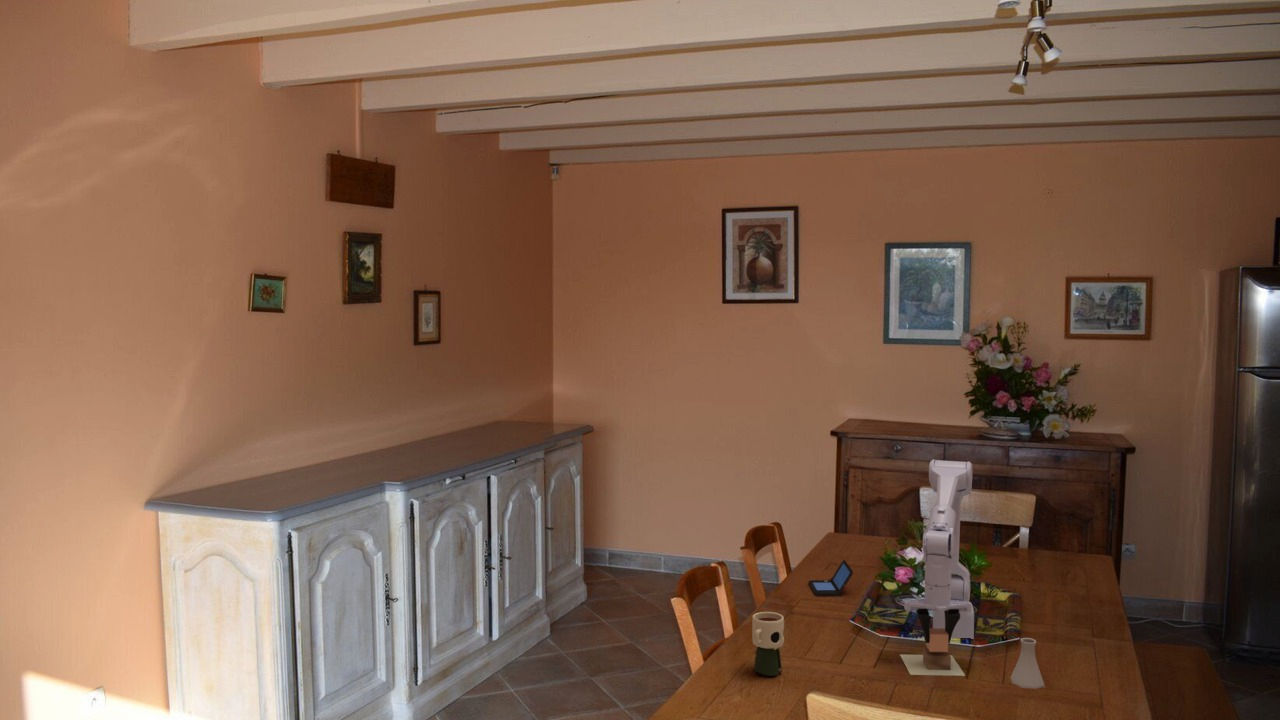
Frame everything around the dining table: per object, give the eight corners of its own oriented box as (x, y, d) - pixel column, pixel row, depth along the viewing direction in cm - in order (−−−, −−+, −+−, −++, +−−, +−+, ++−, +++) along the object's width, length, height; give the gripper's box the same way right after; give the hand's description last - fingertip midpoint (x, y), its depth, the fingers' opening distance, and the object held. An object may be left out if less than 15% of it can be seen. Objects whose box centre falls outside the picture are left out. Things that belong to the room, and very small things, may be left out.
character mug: (769, 684, 215) (769, 626, 214) (741, 676, 220) (741, 620, 219) (793, 669, 224) (793, 613, 223) (766, 661, 228) (766, 607, 227)
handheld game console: (807, 584, 288) (807, 559, 288) (844, 583, 288) (844, 559, 288) (815, 597, 276) (815, 571, 275) (853, 597, 276) (853, 571, 275)
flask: (1003, 679, 217) (1004, 635, 217) (1035, 677, 218) (1036, 633, 217) (1019, 692, 210) (1020, 646, 209) (1051, 691, 211) (1052, 645, 210)
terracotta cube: (943, 645, 225) (944, 628, 225) (948, 652, 221) (948, 634, 221) (926, 645, 225) (926, 628, 225) (930, 651, 221) (930, 634, 221)
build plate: (951, 657, 230) (951, 655, 230) (965, 678, 218) (965, 675, 218) (899, 656, 231) (899, 654, 231) (910, 677, 219) (910, 674, 219)
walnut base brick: (945, 661, 226) (945, 648, 226) (950, 670, 221) (950, 657, 221) (923, 661, 226) (923, 648, 226) (927, 669, 221) (928, 656, 221)
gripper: (909, 588, 219) (908, 647, 220) (975, 588, 218) (974, 648, 219) (902, 578, 226) (901, 636, 227) (967, 579, 225) (965, 637, 226)
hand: (937, 641), depth 223 cm, fingers closed on terracotta cube, 4 cm apart
